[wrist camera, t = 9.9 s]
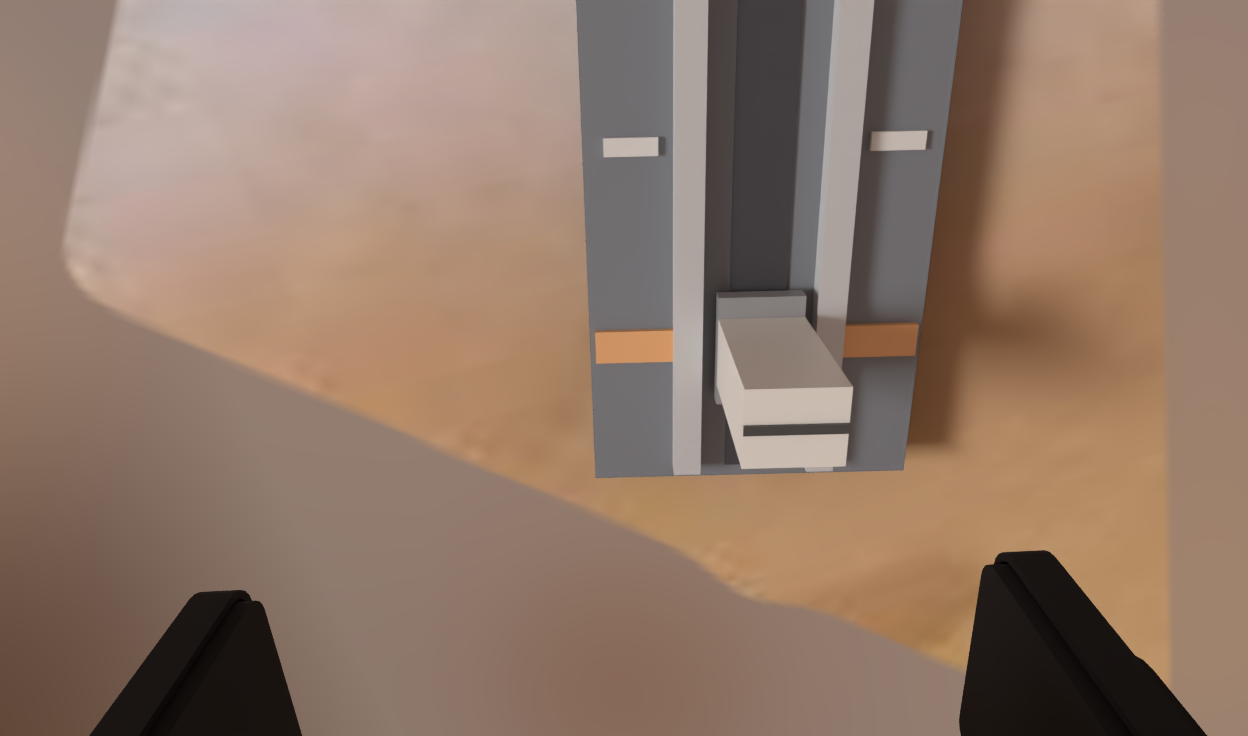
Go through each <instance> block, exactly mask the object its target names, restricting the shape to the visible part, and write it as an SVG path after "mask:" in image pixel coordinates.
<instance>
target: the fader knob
mask: <svg viewBox="0 0 1248 736" xmlns="http://www.w3.org/2000/svg"><path fill="white" fill-rule="evenodd" d="M806 297H807V296H806V295H805V293H804V292H803V291H802V290H786V291H745V292H716V332H715V376H714V398H715V402H716V404H722V405H723V408H724V412H725V415H726V418H727V422H728V425H729V428H730V432H731V435H732V438H733V442H734V445H735V449H736V452H737V455H738V459H739V462H740V465H741V469H761V468H801V467H841V466H846V458H847V447H848V437H849V434H850V427H851V424H850V416H851V405H852V395H853V386H852V384H851V383H850V381H849V380H848V379H847V377H846V376H845V374H844V373H843V371H842V370H841V368H840V367H839V365H838V364H837V363H836V361H835V360H834V358H833V357H832V355H831V354H830V352H829V351H828V349H827V348H826V347H825V345H824V344H823V342H822V341H821V339H820V338H819V336H818V335H817V333H816V332H815V330H814V329H813V328H812V326H811V325H810V323H809V322H808V320H807V319H806V317H805V312H806Z"/></svg>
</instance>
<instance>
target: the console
mask: <svg viewBox="0 0 1248 736" xmlns="http://www.w3.org/2000/svg"><path fill="white" fill-rule="evenodd" d="M962 4H963V0H576V8H577V32H578V57H579V82H580V106H581V131H582V155H583V180H584V204H585V229H586V254H587V278H588V303H589V327H590V352H591V376H592V401H593V426H594V450H595V475H596V478H615V477H655V476H695V475H734V474H774V473H814V472H853V471H893V470H903V469H904V461H905V453H906V445H907V437H908V429H909V422H910V414H911V406H912V398H913V390H914V382H915V374H916V366H917V359H918V351H919V343H920V335H921V327H922V319H923V311H924V304H925V296H926V288H927V280H928V272H929V264H930V256H931V248H932V241H933V233H934V225H935V217H936V209H937V201H938V193H939V185H940V178H941V170H942V162H943V154H944V146H945V138H946V130H947V122H948V115H949V107H950V99H951V91H952V83H953V75H954V67H955V59H956V52H957V44H958V36H959V28H960V20H961V12H962ZM786 290H802V291H803V292H804V293H805V295H806V296H807V297H806V312H805V317H806V319H807V320H808V322H809V323H810V325H811V326H812V328H813V329H814V330H815V332H816V333H817V335H818V336H819V338H820V339H821V341H822V342H823V344H824V345H825V347H826V348H827V349H828V351H829V352H830V354H831V355H832V357H833V358H834V360H835V361H836V363H837V364H838V365H839V367H840V368H841V370H842V371H843V373H844V374H845V376H846V377H847V379H848V380H849V381H850V383H851V384H852V386H853V395H852V405H851V416H850V424H851V427H850V434H849V437H848V447H847V458H846V466H841V467H801V468H761V469H741V465H740V462H739V459H738V455H737V452H736V449H735V445H734V442H733V438H732V435H731V432H730V428H729V425H728V422H727V418H726V415H725V412H724V408H723V405H722V404H716V402H715V398H714V376H715V332H716V292H745V291H786Z"/></svg>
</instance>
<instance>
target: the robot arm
mask: <svg viewBox="0 0 1248 736" xmlns="http://www.w3.org/2000/svg"><path fill="white" fill-rule="evenodd" d="M959 723H960V724H959V725H960V733H961V736H1207V735H1206V734H1205V732H1204V731H1203V730H1202V729H1201V728H1200V726H1199V725H1198V724H1197V723H1196V721H1195V720H1194V719H1193V718H1192V717H1191V715H1190V714H1189V713H1188V712H1187V711H1186V709H1185V708H1184V707H1183V706H1182V704H1181V703H1180V702H1179V701H1178V700H1177V698H1176V697H1175V696H1174V695H1173V693H1172V692H1171V691H1170V690H1169V689H1168V687H1167V686H1166V685H1165V684H1164V682H1163V681H1162V680H1161V679H1160V678H1159V676H1158V675H1157V674H1156V673H1155V671H1154V670H1153V669H1152V668H1151V667H1150V666H1149V665H1148V664H1147V663H1146V662H1145V661H1144V660H1143V659H1141V658H1138V657H1136V656H1135V655H1134V654H1133V652H1132V651H1131V650H1130V649H1129V648H1128V646H1127V645H1126V644H1125V643H1124V641H1123V640H1122V639H1121V638H1120V636H1119V635H1118V634H1117V633H1116V631H1115V630H1114V629H1113V628H1112V627H1111V625H1110V624H1109V623H1108V622H1107V620H1106V619H1105V618H1104V617H1103V615H1102V614H1101V613H1100V612H1099V610H1098V609H1097V608H1096V607H1095V606H1094V604H1093V603H1092V602H1091V601H1090V599H1089V598H1088V597H1087V596H1086V594H1085V593H1084V592H1083V591H1082V589H1081V588H1080V587H1079V586H1078V585H1077V583H1076V582H1075V581H1074V580H1073V578H1072V577H1071V576H1070V575H1069V573H1068V572H1067V571H1066V570H1065V568H1064V567H1063V566H1062V565H1061V564H1060V562H1059V561H1058V560H1057V559H1056V557H1055V556H1054V555H1052V554H1051V553H1050V552H1048V551H1045V550H1042V551H1022V552H1003V553H1000V554H998V556H997V557H996V559H995V562H994V564H993V565H986V566H985V567H984V568H983V570H982V574H981V580H980V587H979V593H978V600H977V606H976V613H975V619H974V626H973V632H972V638H971V645H970V651H969V658H968V664H967V671H966V677H965V685H964V690H963V697H962V703H961V710H960V718H959ZM90 736H302V734H301V730H300V727H299V723H298V720H297V717H296V713H295V710H294V707H293V703H292V700H291V696H290V693H289V690H288V686H287V683H286V680H285V676H284V673H283V670H282V666H281V663H280V659H279V656H278V653H277V650H276V646H275V643H274V639H273V636H272V633H271V629H270V626H269V622H268V619H267V616H266V613H265V609H264V607H263V605H262V604H261V603H260V602H259V601H252V600H251V598H250V595H249V594H248V593H246V591H242V590H233V591H213V592H199V593H197V594H194V595H193V597H191V598H190V599H189V601H188V602H187V603H186V605H185V606H184V607H183V609H182V610H181V612H180V613H179V614H178V616H177V617H176V618H175V620H174V621H173V622H172V624H171V625H170V627H169V628H168V629H167V631H166V632H165V633H164V635H163V636H162V637H161V639H160V640H159V642H158V643H157V644H156V646H155V647H154V649H153V650H152V651H151V652H150V654H149V655H148V656H147V658H146V659H145V661H144V662H143V663H142V665H141V666H140V667H139V669H138V670H137V672H136V673H135V674H134V676H133V677H132V678H131V680H130V681H129V683H128V684H127V686H126V687H125V688H124V689H123V691H122V692H121V693H120V695H119V696H118V698H117V699H116V700H115V702H114V703H113V704H112V706H111V707H110V708H109V710H108V711H107V712H106V714H105V715H104V716H103V718H102V719H101V721H100V722H99V723H98V725H97V726H96V727H95V729H94V730H93V731H92V733H91V734H90Z"/></svg>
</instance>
